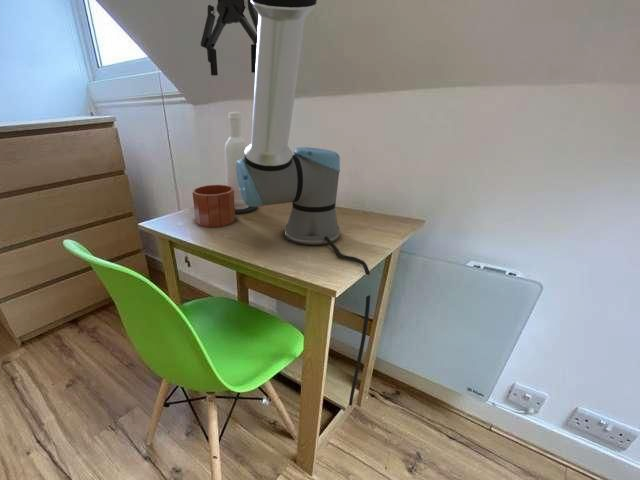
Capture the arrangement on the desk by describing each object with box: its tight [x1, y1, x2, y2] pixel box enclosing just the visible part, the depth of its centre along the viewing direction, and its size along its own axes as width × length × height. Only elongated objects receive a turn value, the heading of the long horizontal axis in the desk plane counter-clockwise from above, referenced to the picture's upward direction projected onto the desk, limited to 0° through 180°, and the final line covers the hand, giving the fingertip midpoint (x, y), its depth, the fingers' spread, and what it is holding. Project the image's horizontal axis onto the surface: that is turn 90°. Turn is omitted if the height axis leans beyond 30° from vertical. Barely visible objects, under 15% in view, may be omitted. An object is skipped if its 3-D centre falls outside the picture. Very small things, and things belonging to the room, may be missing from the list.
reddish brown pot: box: [191, 184, 236, 228], centre depth 111 cm, size 13×13×10 cm
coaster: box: [235, 206, 258, 215], centre depth 123 cm, size 13×13×1 cm
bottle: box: [224, 111, 249, 210], centre depth 115 cm, size 8×8×30 cm
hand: (234, 74), depth 102 cm, fingers open, 13 cm apart
